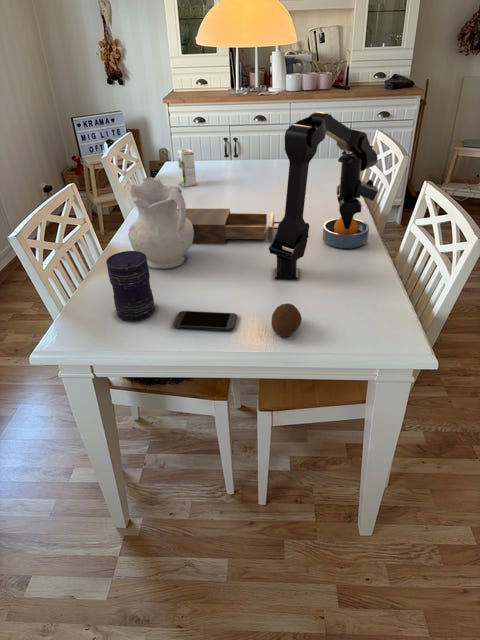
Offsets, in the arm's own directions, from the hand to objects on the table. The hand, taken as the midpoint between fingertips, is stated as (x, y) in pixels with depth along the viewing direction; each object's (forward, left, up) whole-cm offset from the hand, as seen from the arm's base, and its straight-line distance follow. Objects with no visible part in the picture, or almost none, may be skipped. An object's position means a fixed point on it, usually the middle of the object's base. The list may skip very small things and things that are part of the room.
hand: (346, 224), depth 153 cm
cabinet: (+4, +48, -6) cm, 49 cm away
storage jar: (-46, +56, -6) cm, 73 cm away
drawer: (+4, +30, -5) cm, 31 cm away
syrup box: (+59, +64, -6) cm, 87 cm away
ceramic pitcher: (-17, +55, -6) cm, 57 cm away
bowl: (0, 0, -6) cm, 6 cm away
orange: (0, 0, -5) cm, 5 cm away
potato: (-52, +17, -6) cm, 55 cm away
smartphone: (-50, +37, -6) cm, 62 cm away
